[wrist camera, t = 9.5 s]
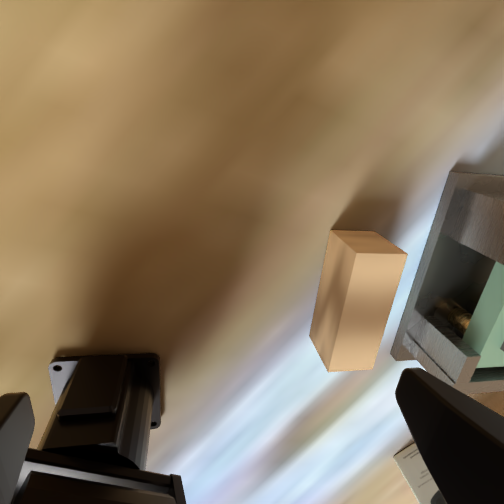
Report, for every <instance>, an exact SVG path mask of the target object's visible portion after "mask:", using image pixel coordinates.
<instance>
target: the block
mask: <svg viewBox="0 0 504 504" xmlns="http://www.w3.org/2000/svg"><path fill="white" fill-rule="evenodd" d="M407 255H408V254H407V253H406V252H404V251H403V250H401V249H400V248H398V247H397V246H395V245H394V244H392V243H391V242H389V241H388V240H387V239H385V238H384V237H382V236H381V235H379V234H378V233H376V232H375V231H347V230H330V234H329V239H328V244H327V249H326V254H325V259H324V264H323V269H322V274H321V279H320V284H319V289H318V294H317V299H316V304H315V309H314V314H313V319H312V324H311V329H310V334H309V337H310V338H311V340H312V342H313V344H314V346H315V348H316V350H317V352H318V354H319V356H320V358H321V359H322V361H323V363H324V365H325V367H326V369H327V371H328V372H337V371H353V370H369V369H373V366H374V362H375V359H376V356H377V353H378V349H379V346H380V343H381V340H382V336H383V333H384V330H385V327H386V323H387V320H388V317H389V314H390V310H391V307H392V304H393V301H394V297H395V294H396V291H397V288H398V284H399V281H400V278H401V275H402V271H403V268H404V265H405V262H406V258H407Z"/></svg>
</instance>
